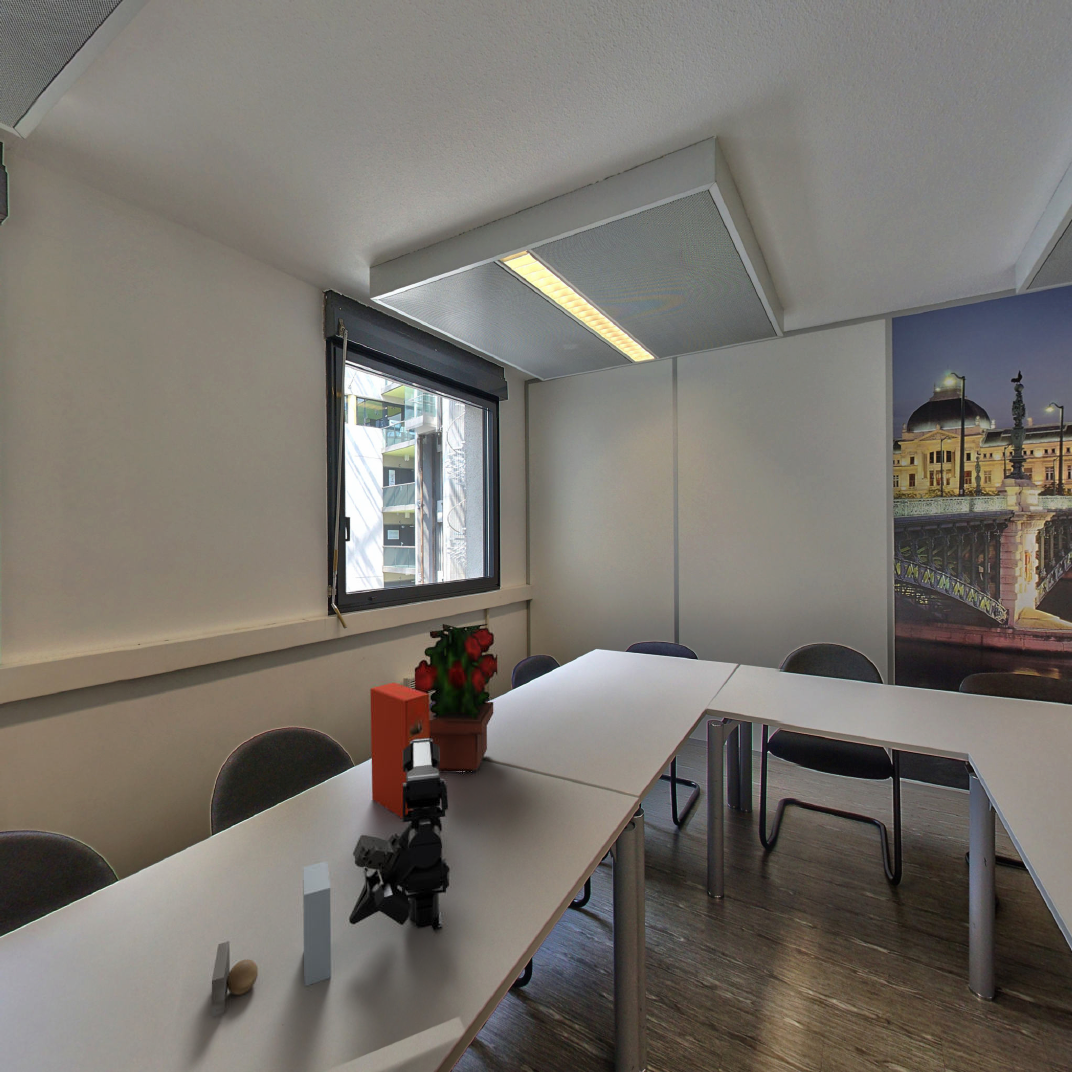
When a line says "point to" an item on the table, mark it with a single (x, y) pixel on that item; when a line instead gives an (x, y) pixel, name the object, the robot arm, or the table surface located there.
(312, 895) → the block
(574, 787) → the table surface
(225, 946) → the press bed
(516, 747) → the table surface
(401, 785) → the file binder
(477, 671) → the potted plant
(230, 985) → the walnut
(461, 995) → the table surface
